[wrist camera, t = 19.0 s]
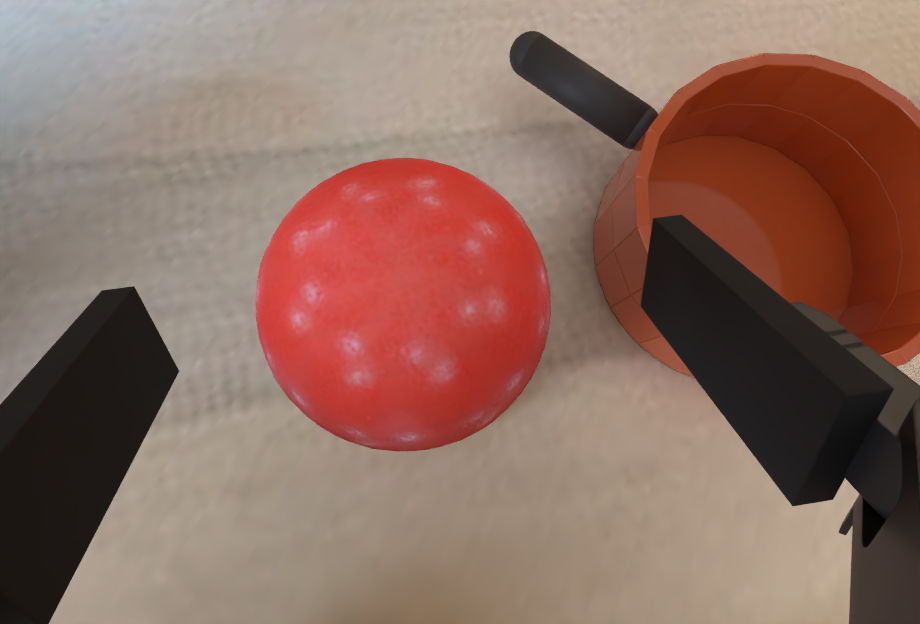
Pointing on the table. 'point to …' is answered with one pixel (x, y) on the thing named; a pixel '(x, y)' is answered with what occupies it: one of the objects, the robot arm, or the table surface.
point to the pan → (780, 195)
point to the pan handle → (581, 88)
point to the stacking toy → (403, 304)
